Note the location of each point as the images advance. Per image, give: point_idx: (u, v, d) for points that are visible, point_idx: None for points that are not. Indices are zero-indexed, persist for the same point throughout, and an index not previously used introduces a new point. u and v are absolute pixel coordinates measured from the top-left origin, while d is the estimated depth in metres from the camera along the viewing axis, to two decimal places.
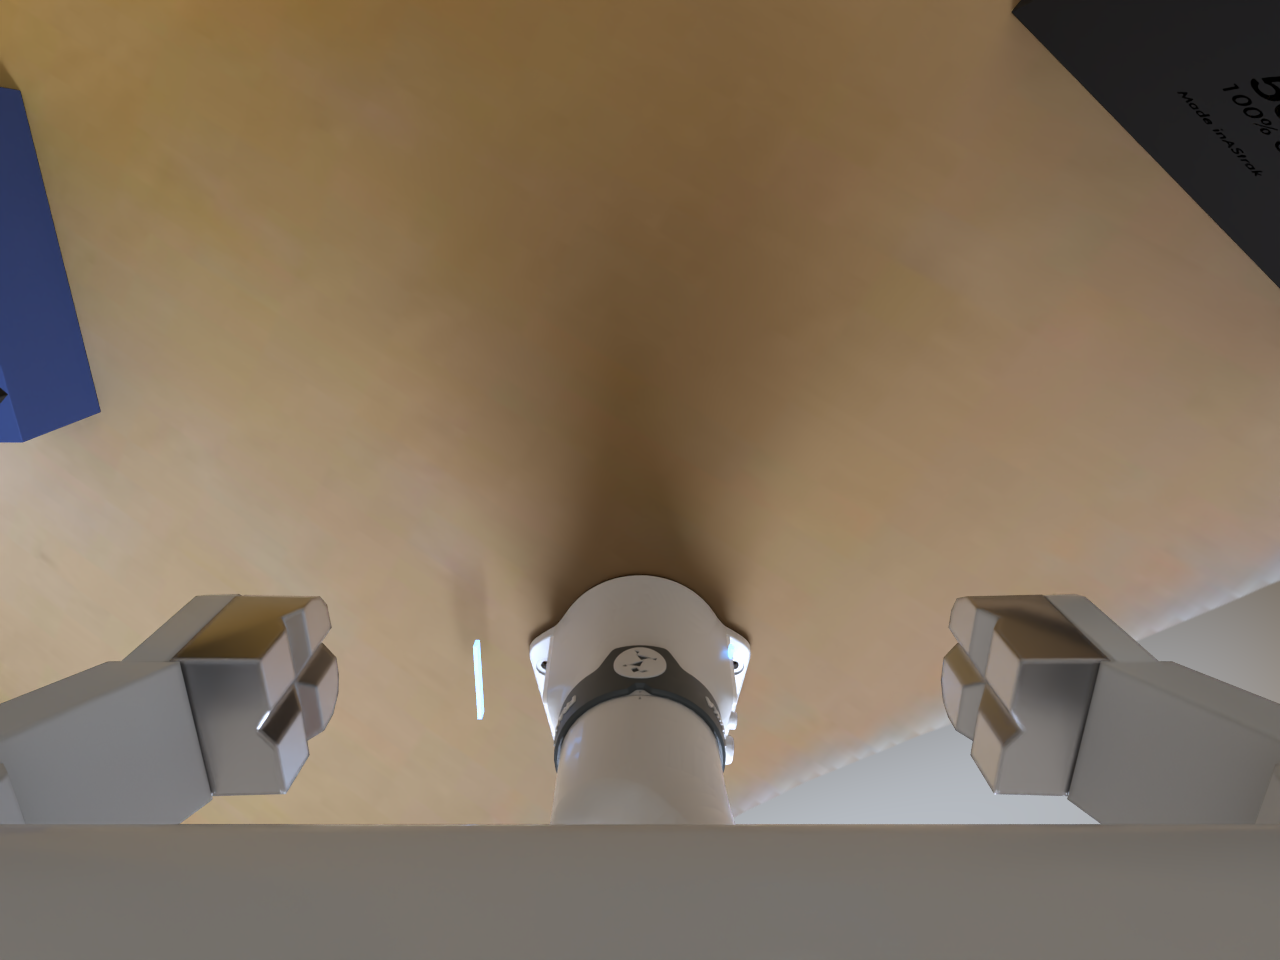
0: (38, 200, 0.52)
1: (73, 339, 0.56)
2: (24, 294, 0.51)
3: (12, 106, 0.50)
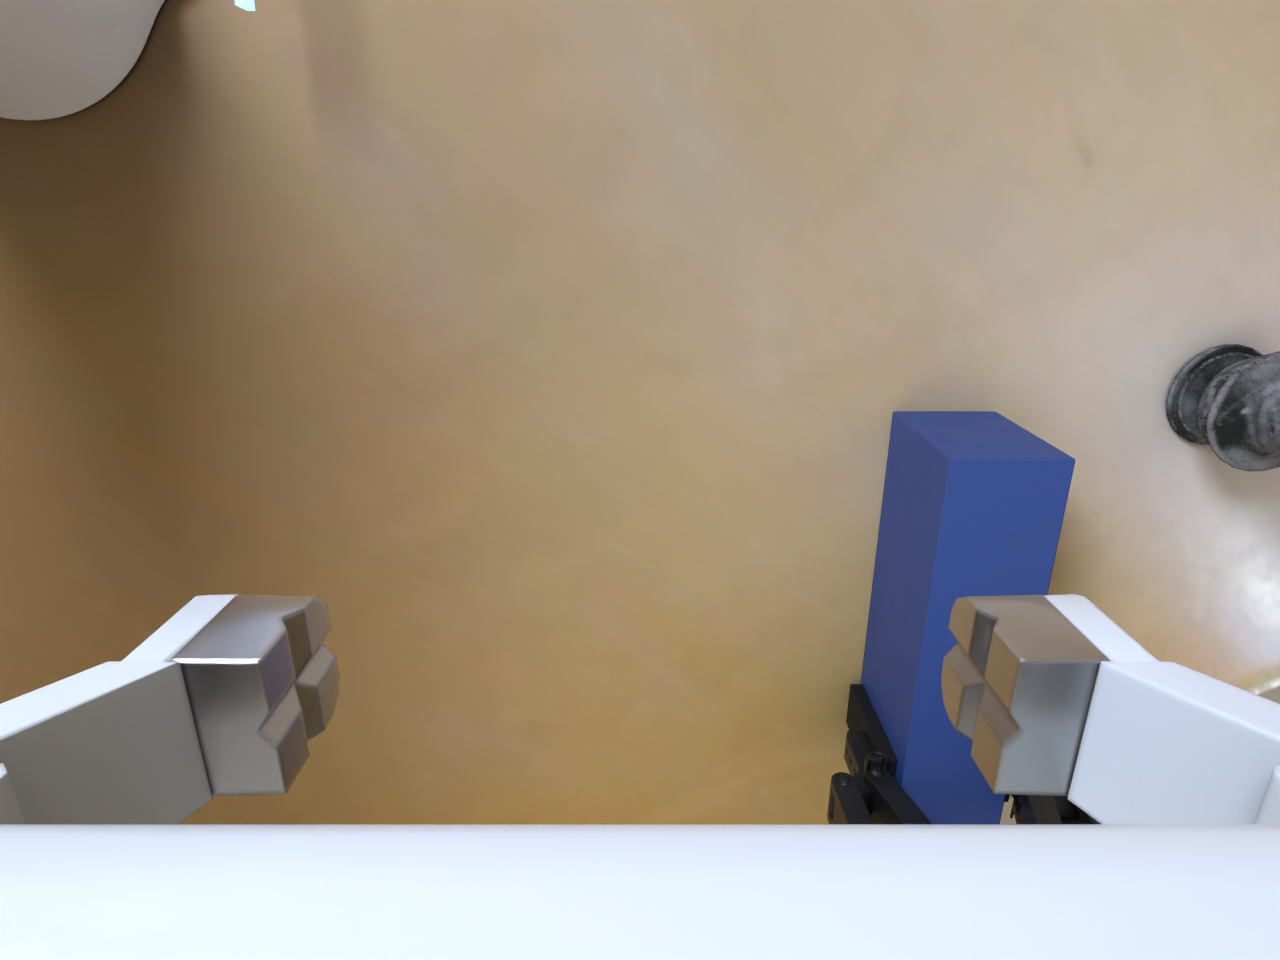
0: (867, 668, 0.44)
1: (885, 518, 0.41)
2: (898, 608, 0.39)
3: None
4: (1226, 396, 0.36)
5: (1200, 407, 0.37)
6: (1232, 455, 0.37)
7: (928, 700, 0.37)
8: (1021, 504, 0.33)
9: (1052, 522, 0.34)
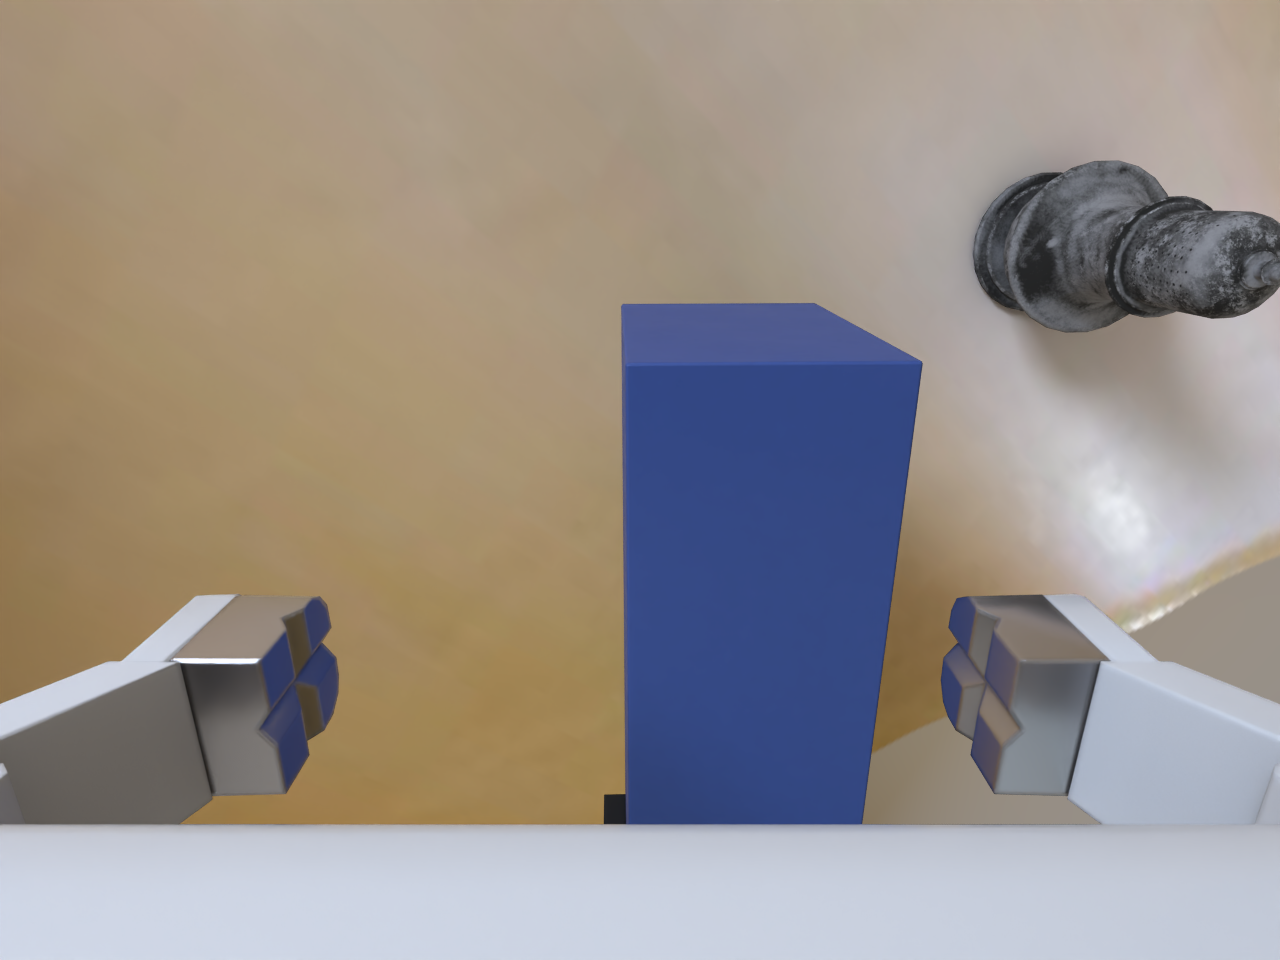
0: (625, 770, 0.25)
1: None
2: None
3: None
4: (1029, 225, 0.27)
5: (1005, 249, 0.28)
6: (1043, 309, 0.28)
7: None
8: (807, 471, 0.14)
9: (881, 511, 0.15)
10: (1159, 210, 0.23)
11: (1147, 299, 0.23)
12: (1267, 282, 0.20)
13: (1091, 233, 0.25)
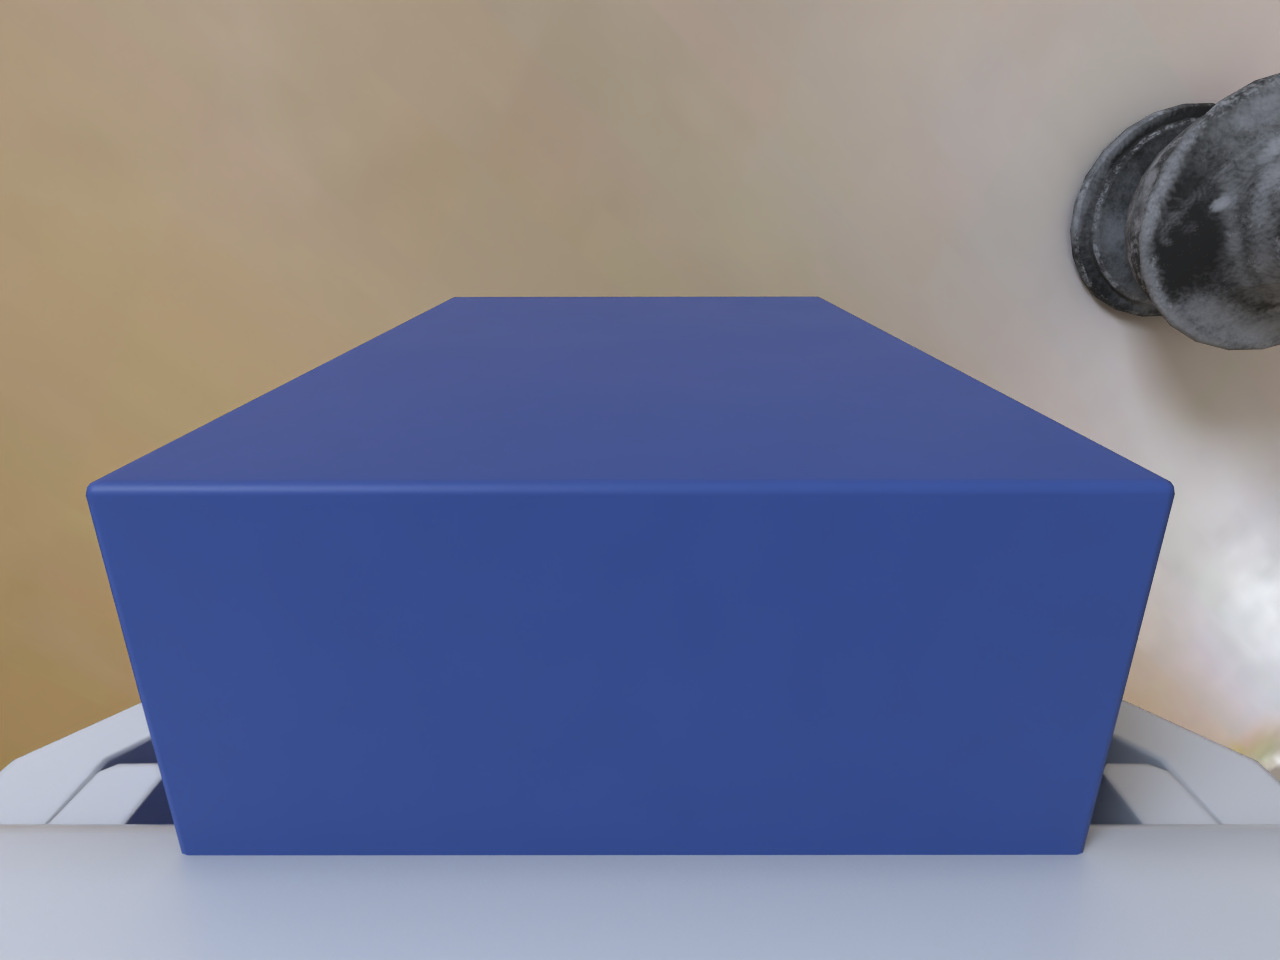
0: None
1: None
2: None
3: None
4: (1180, 176, 0.16)
5: (1129, 219, 0.18)
6: (1195, 313, 0.17)
7: None
8: (758, 821, 0.04)
9: None
10: None
11: None
12: None
13: None
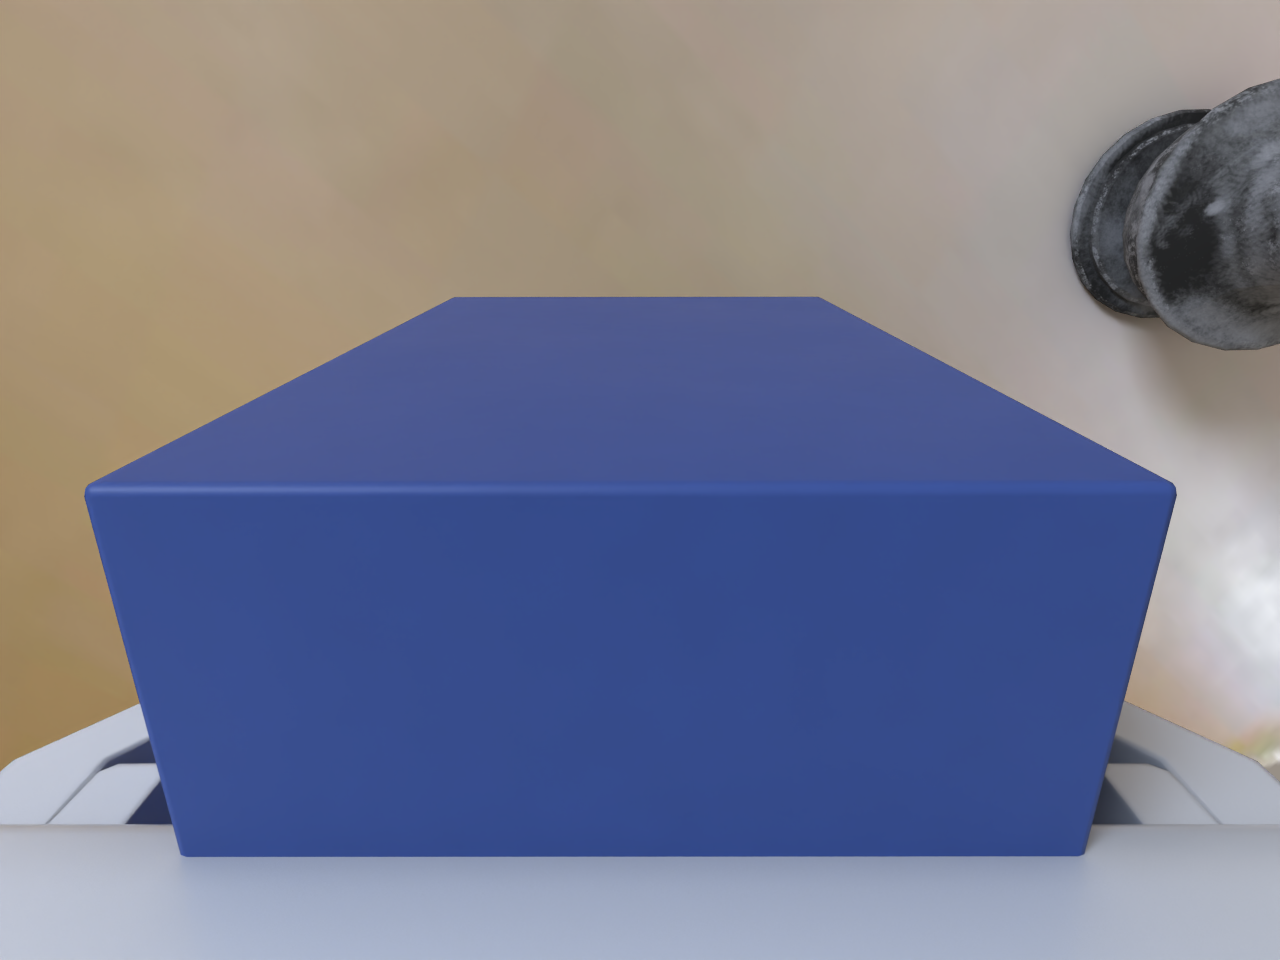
0: None
1: None
2: None
3: None
4: (1175, 181, 0.17)
5: (1127, 222, 0.18)
6: (1191, 314, 0.18)
7: None
8: (759, 822, 0.04)
9: None
10: None
11: None
12: None
13: None
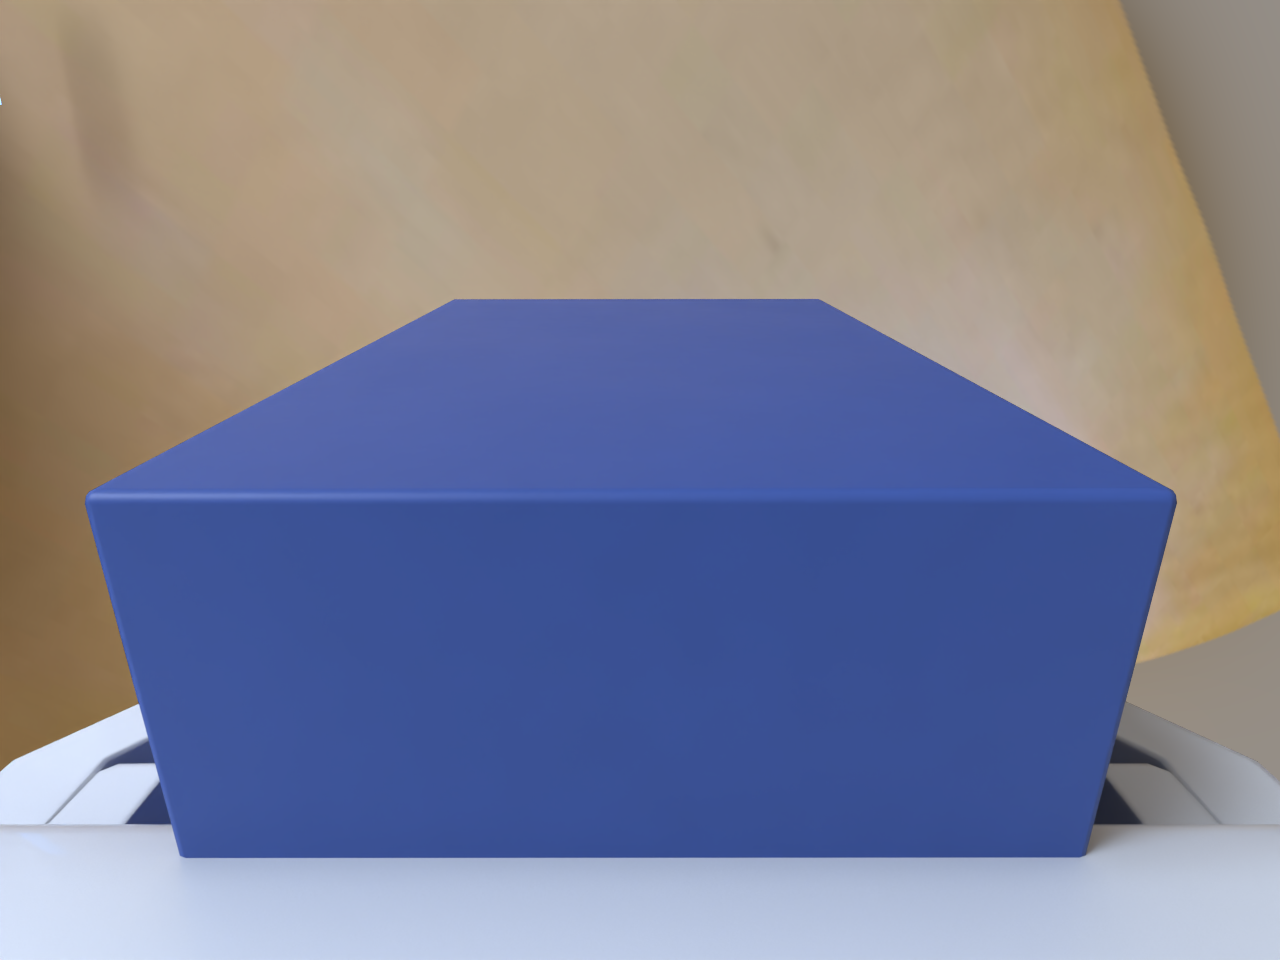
0: None
1: None
2: None
3: None
4: None
5: None
6: None
7: None
8: (758, 826, 0.04)
9: None
10: None
11: None
12: None
13: None
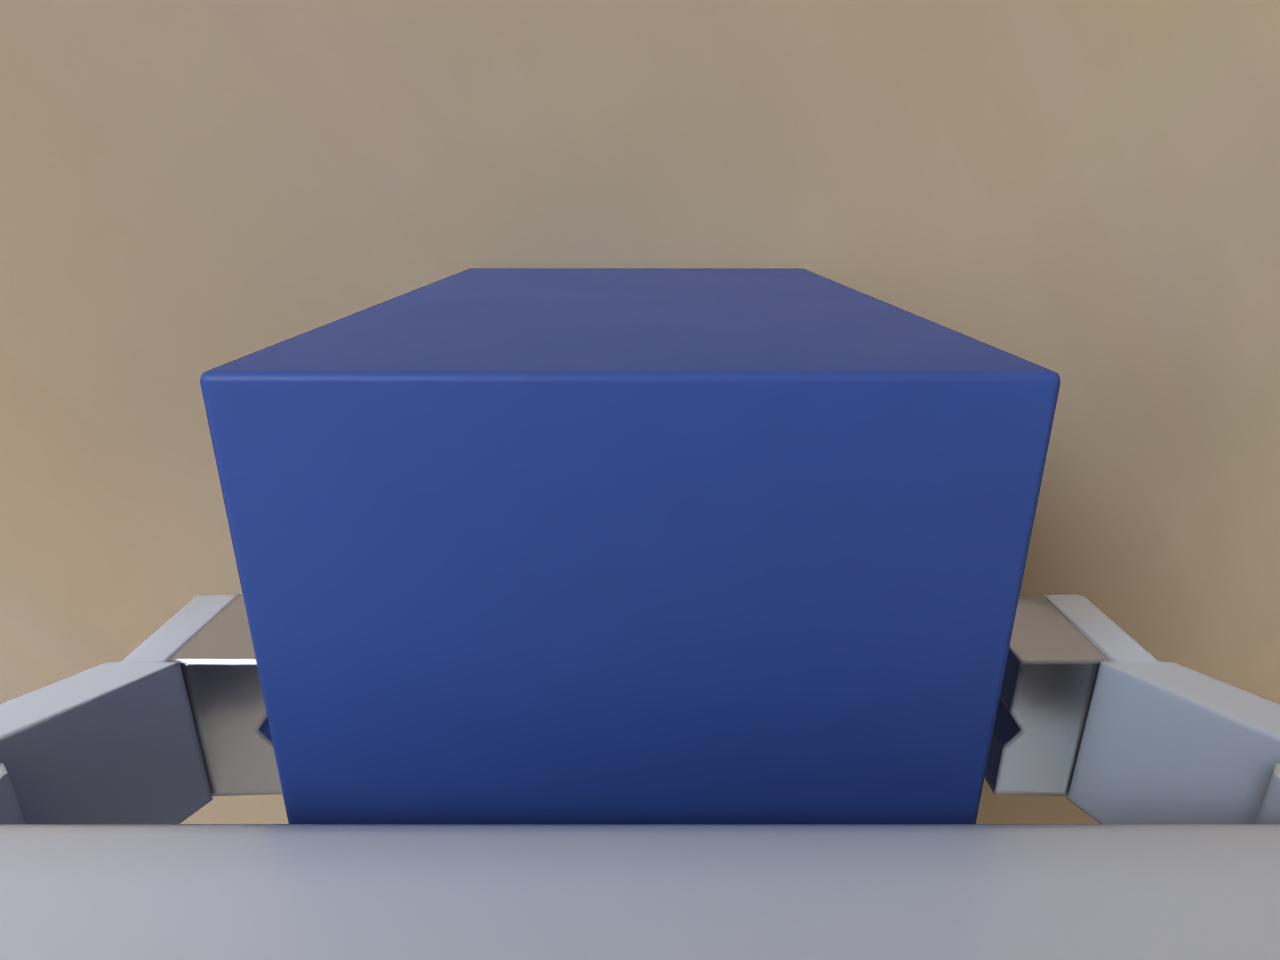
0: None
1: None
2: None
3: None
4: None
5: None
6: None
7: None
8: (734, 662, 0.05)
9: (930, 758, 0.06)
10: None
11: None
12: None
13: None
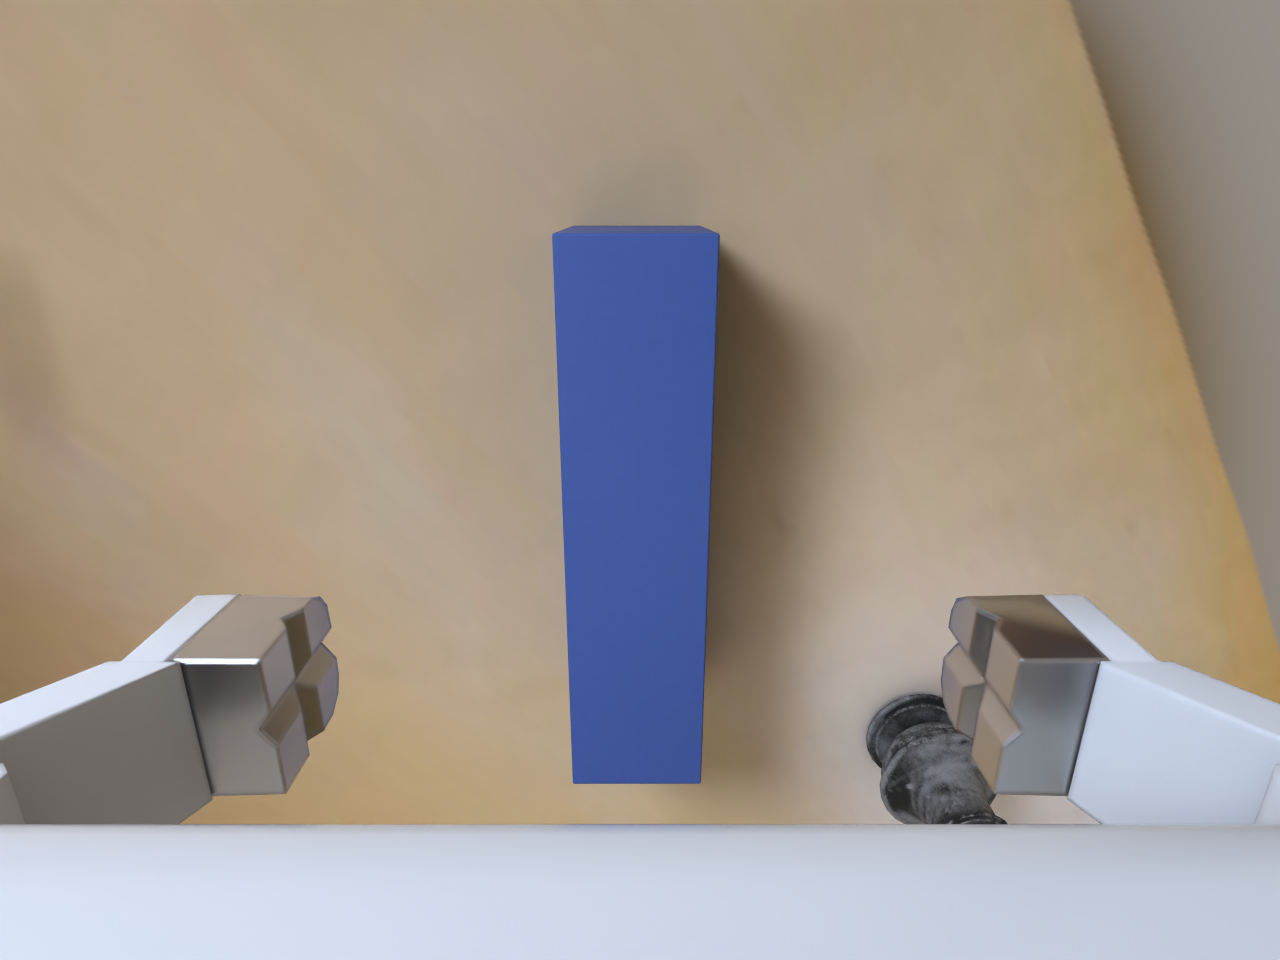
0: None
1: None
2: None
3: None
4: (895, 768, 0.37)
5: (883, 762, 0.38)
6: (904, 817, 0.38)
7: (584, 576, 0.29)
8: (658, 299, 0.25)
9: (702, 325, 0.26)
10: (968, 823, 0.33)
11: None
12: None
13: (931, 801, 0.35)
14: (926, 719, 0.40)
